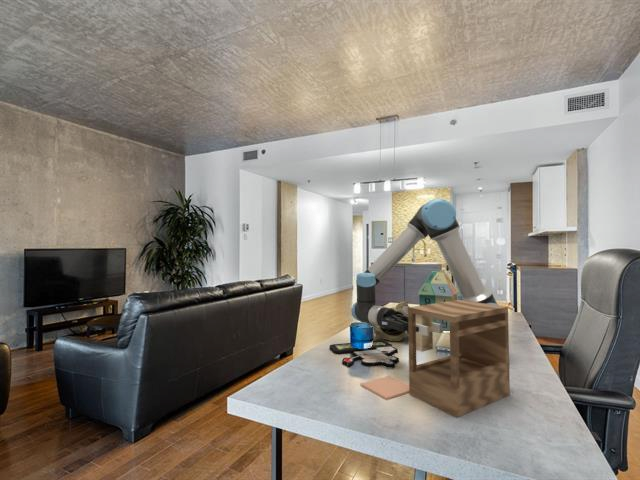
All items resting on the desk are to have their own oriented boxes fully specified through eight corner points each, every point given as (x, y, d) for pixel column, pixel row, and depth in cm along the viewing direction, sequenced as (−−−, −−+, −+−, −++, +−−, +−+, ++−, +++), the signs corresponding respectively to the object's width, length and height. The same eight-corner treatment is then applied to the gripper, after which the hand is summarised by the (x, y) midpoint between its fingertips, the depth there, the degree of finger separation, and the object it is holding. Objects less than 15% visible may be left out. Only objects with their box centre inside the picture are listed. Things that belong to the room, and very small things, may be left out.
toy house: (459, 327, 180) (458, 270, 180) (453, 334, 166) (452, 272, 167) (426, 324, 189) (425, 269, 190) (417, 330, 175) (416, 271, 176)
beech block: (420, 345, 116) (420, 309, 116) (432, 348, 112) (432, 311, 112) (410, 347, 113) (409, 311, 113) (422, 351, 109) (421, 313, 109)
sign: (383, 339, 155) (419, 361, 126) (383, 343, 155) (419, 366, 126) (326, 345, 148) (350, 369, 119) (326, 349, 148) (350, 374, 119)
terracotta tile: (388, 377, 114) (388, 375, 114) (416, 390, 104) (416, 388, 104) (360, 385, 108) (360, 383, 108) (386, 400, 98) (386, 397, 98)
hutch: (461, 377, 114) (460, 299, 114) (509, 395, 100) (508, 306, 100) (409, 394, 101) (408, 307, 101) (456, 417, 87) (454, 316, 88)
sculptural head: (377, 304, 180) (358, 307, 158) (417, 299, 171) (403, 300, 149) (382, 339, 176) (365, 346, 155) (424, 335, 167) (411, 342, 145)
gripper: (400, 324, 133) (452, 337, 113) (364, 330, 123) (414, 346, 103) (400, 304, 133) (452, 314, 113) (364, 309, 123) (414, 321, 103)
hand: (434, 330), depth 108 cm, fingers closed on beech block, 5 cm apart
